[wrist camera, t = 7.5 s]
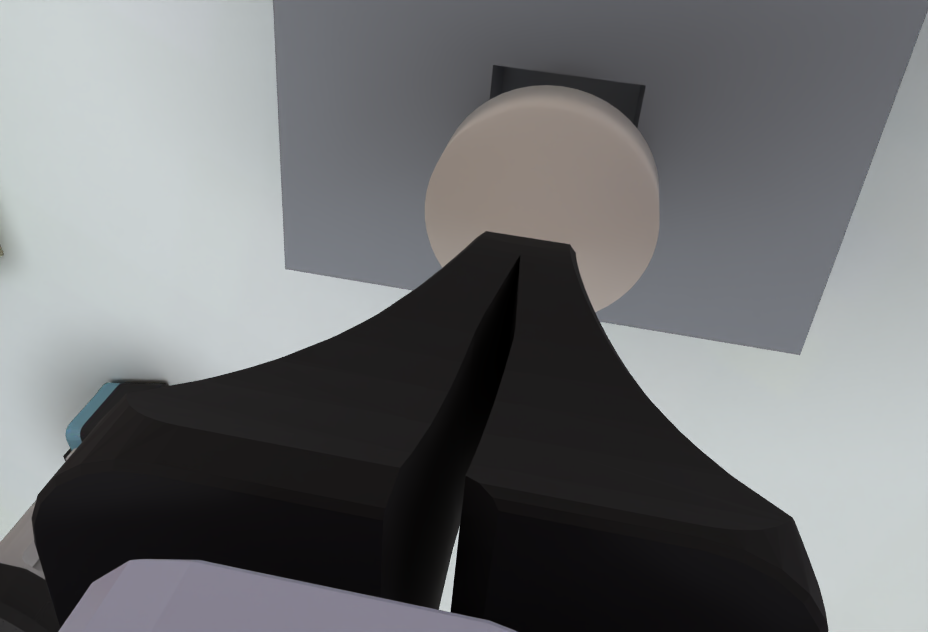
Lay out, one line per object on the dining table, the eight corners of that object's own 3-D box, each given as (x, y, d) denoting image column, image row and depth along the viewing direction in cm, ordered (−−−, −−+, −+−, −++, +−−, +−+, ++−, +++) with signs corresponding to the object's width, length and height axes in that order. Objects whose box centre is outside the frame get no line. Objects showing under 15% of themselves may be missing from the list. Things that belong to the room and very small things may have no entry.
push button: (256, 524, 30) (105, 810, 22) (123, 516, 31) (-69, 784, 23) (205, 372, 26) (2, 643, 18) (57, 369, 28) (-196, 623, 19)
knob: (678, 67, 16) (684, 127, 13) (637, 254, 18) (634, 338, 15) (467, 39, 16) (430, 92, 13) (452, 225, 18) (419, 302, 16)
